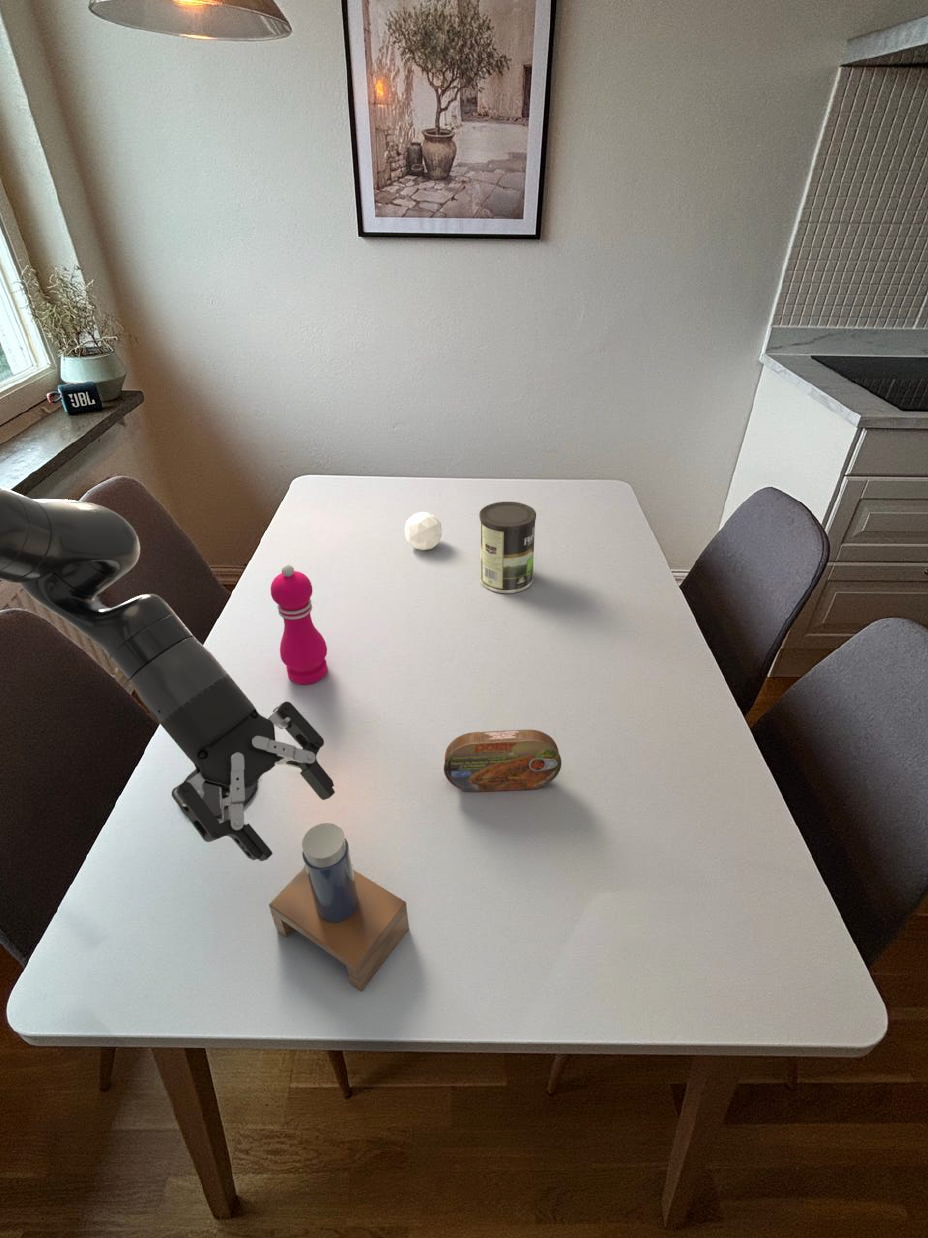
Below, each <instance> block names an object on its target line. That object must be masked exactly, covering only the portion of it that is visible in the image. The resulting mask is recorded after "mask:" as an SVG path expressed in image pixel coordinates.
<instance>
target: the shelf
mask: <svg viewBox="0 0 928 1238" xmlns="http://www.w3.org/2000/svg"><path fill="white" fill-rule="evenodd" d="M353 873H354V878H355V883H356V889H357V894H358V906H357V908H356V910H355V912H354V913H353V914H352V915H351V916H350V917H349V918H348V919H346V920H344V921H342V922H337V923H330V922H327V921H324V920H323V919H321V918H320V917H319V915H318V914H317V911H316V907H315V903H314V899H313V895H312V891H311V888H310V884H309V880H308V876H307V872H306V868H305V866H303V868H302V869H301V870H300V871H299V872H298V873H297V874H296V875H295V876H294V877H293V879H291V881H289V883H288V884H287V885H286V886H285V887H284V888H283V889H282V890H281V891H280V892H279V893H278V894H277V895H276V896H275V897H274V898H273V899H272V900H271V902H269V903H268V908H269V910H270V913H271V917H272V919H273V923H274V926H275V929H276V931H277V932H278V933H279V934H281V935H282V936H283V937H285V938H288V937H289V936H290V935H291V933H292V932H293V931H294V930H295V931H296V932H299V933H300V934H301V935H302V936H304V937H305V938H307V939H308V940H309V941H311V942H312V943H313V944H315V945H317V946H318V947H319V948H321V949H322V950H324V951H325V952H326V953H328V954H329V955H331V956H332V957H333V958H335V959H336V960H338V961H339V962H341V963H342V964H343V965H344V966H346V970H347V973H348V978H349V982H350V985H352V986H353V987H354V988H356V989H357V990H359V992H363V991H364V989H365V988H366V987H367V985H368V983H370V981H371V980H372V978H373V977H374V976H375V974H376V973H377V972H378V971H379V969H380V968H381V966H382V965H383V964H384V962H385V961H386V960H387V958H388V957H389V956H390V954H391V953H392V952H393V951H394V949H395V948H396V947H397V945H398V944H399V942H400V941H401V940H402V939H403V937H404V936H405V935H406V934H407V932H408V931H409V929H410V924H409V917H408V907H407V901H405V900H403V899H402V898H400V897H398V896H397V895H395V894H394V893H392V892H390V891H389V890H388V889H385V888H384V887H382V886H381V885H379V884H377V883H376V882H374V881H373V880H371V879H369V878H368V877H367V876H364V875H363V874H362V873H360V872H358V871H357V870H355V869H353Z"/></svg>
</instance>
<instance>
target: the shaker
mask: <svg viewBox="0 0 928 1238" xmlns="http://www.w3.org/2000/svg"><path fill="white" fill-rule="evenodd" d="M301 846H302V860H303V863H304V867H305V868H306V872H307V876H308V880H309V884H310V888H311V891H312V895H313V899H314V903H315V907H316V911H317V914H318V915H319V917H320V918H321V919H323V920H324V921H327V922H330V923H337V922H342V921H344V920H346V919H348V918H349V917H350V916H351V915H352V914H353V913H354V912H355V910H356V908H357V906H358V894H357V889H356V883H355V878H354V873H353V870H354V868H353V863H352V857H351V851H350V847H349V843H348V840H347V838H346V837H345V833H344V831H343V829H342V828H341V827H340V826H339V825H337V824H335V823H331V822H325V823H319V824H317V825H314V826H312V827H311V828H309V830H307V832H306V833H305V834H304V836H303V838H302V841H301Z"/></svg>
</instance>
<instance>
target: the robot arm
mask: <svg viewBox="0 0 928 1238" xmlns="http://www.w3.org/2000/svg"><path fill="white" fill-rule="evenodd" d="M140 556H141V541H140V539H139V536H138V533H137V532H136V530H135V529H134V527H133V526H132V524H130V523H129V521H128V520H127V519H126V518H124V517H123V516H121V515H120V514H119V513H117V512H116V511H113V510H111V509H110V508H108V507H106V506H103V505H100V504H97V503H94V502H89V501H83V500H72V499H69V500H68V499H51V498H50V499H49V498H39V499H38V498H37V499H35V498H34V499H33V498H31V497H28V496H26V495H23V494H20V493H18V492H16V491H13V490H10V489H8V488H5V487H2V486H0V581H2V582H6V583H7V582H8V583H18V584H19V585H20V586H21V588H22V589H23V591H25V593H26V594H28V596H29V597H30V598H32V599H33V600H34V601H36V602H37V603H38V604H39V605H41V606H43V607H44V608H46V609H47V610H49V611H50V612H52V613H53V614H55V615H57V616H58V617H59V618H61V619H62V620H63V621H65V622H66V623H68V624H69V625H71V626H72V627H73V628H75V629H76V630H78V631H79V632H80V633H81V634H82V635H84V636H85V637H87V638H88V639H89V640H90V641H91V642H92V643H94V644H95V645H96V646H97V647H98V648H100V650H101V651H103V652H104V654H105V655H106V656H107V657H108V659H109V660H110V661H111V662H112V663H113V664H114V666H115V667H116V668H117V670H118V671H119V672H120V673H121V674H122V675H123V676H124V678H125V679H126V680H127V681H128V682H129V684H130V685H131V686H132V688H133V689H134V691H135V693H136V694H137V696H138V698H139V700H140V701H141V702H142V704H143V705H144V707H146V709H147V710H148V712H149V714H150V715H151V717H152V718H153V719H154V720H155V721H157V722H158V723H159V725H161V727H162V728H163V730H165V732H166V733H167V734H168V735H169V737H170V738H171V739H172V740H173V741H174V743H175V744H176V745H177V746H178V747H179V749H180V750H181V751H182V753H184V754H185V756H186V757H187V758H188V759H189V760H190V762H192V763H193V765H194V767H195V770H196V771H197V775H195V776H194V777H192V778H191V779H190V780H188V781H187V782H184V781H182V782H181V783H180V784H178V785H177V786H175V787H174V788H173V789H172V791H171V797H172V799H173V800H174V801H175V803H176V804H177V805H178V807H179V808H180V809H181V811H182V812H183V813H184V815H185V816H186V817H187V819H188V820H189V822H190V823H191V825H192V826H193V827H194V828H195V830H196V831H197V832H198V834H199V836H200V837H201V838H202V840H203V841H204V842H207V843H211V842H214V841H216V840H219V839H222V838H223V837H229V838H231V839H232V840H233V842H234V843H235V844H236V845H237V846H238V847H239V849H240V850H241V851H242V852H243V854H244V855H245V856H246V858H248V859H250V860H251V861H256V860H258V861H259V862H264V861H268V859H269V858H270V857H272V855H273V851H272V850H271V848H270V847H269V846H268V845H267V843H266V842H265V841H264V840H263V839H262V838H261V836H260V835H259V834H258V833H257V831H255V829H254V828H253V826H251V824H250V823H245V811H244V807H243V804H244V801H245V789H247V788H249V787H251V786H252V785H253V784H255V783H256V782H257V781H258V782H259V779H260V778H261V777H262V776H263V775H264V774H266V773H267V772H270V771H271V770H272V769H273V768H274V767H275V766H276V765H278V766H288V767H293V768H297V769H300V770H301V771H300V772H299V774H300V775H301V777H302V778H303V779H304V780H305V782H306V783H307V784H308V785H309V786H310V788H311V789H312V790H313V792H315V794H316V795H317V796H318V797H319V799H321V800H322V801H326V800H328V799H330V798H332V796H333V795H334V794H335V793H336V792H335V789H334V788H333V787H334V786H335V783H334V781H333V779H332V778H331V777H330V775H329V774H328V773H327V772H326V771H325V769H324V768H323V767H322V765H321V764H320V763H319V762H318V760H317V756H318V753H319V751H320V749H321V748H322V747H324V744H325V740H324V738H323V736H321V735H320V734H319V732H318V731H317V730H316V729H315V728H314V727H313V725H311V724H310V722H309V721H308V720H307V719H306V718H305V717H304V715H302V714H301V712H300V711H299V710H298V709H297V708H296V707H295V706H294V705H293V703H291V701H283V702H282V703H280V704H279V705H277V706H276V707H275V708H274V709H273V710H272V713H271V714H270V715H268V716H267V717H265V716H263V715H262V714H260V713H259V712H258V710H257V709H256V707H255V705H254V704H253V703H252V701H251V700H250V699H249V698H248V696H247V695H246V694H245V693H244V692H243V690H242V689H241V688H240V687H239V685H238V684H237V683H236V682H235V680H234V679H233V678H232V676H231V675H230V674H229V673H228V671H226V670H225V669H224V667H223V665H222V664H221V663H220V662H219V660H217V658H216V657H215V656H214V655H213V653H212V652H210V650H209V649H208V648H206V647H205V646H204V645H203V644H202V643H201V642H200V641H199V640H198V639H197V638H196V637H195V636H194V635H193V633H192V631H190V629H189V628H188V627H187V626H186V625H185V623H183V621H182V620H181V618H179V616H178V615H177V614H176V613H175V611H174V610H173V609H172V607H171V606H170V605H169V604H168V602H166V600H164V599H163V598H162V597H161V596H160V595H158V594H155V593H145V594H144V593H143V594H141V595H137V596H135V597H132V598H131V599H128V600H127V601H124V602H123V603H120V604H118V605H115V606H114V607H108V606H107V605H104V604H103V603H102V602H100V601H99V600H98V599H97V596H98V595H100V594H101V593H102V592H104V591H105V590H107V588H109V587H110V586H111V585H113V584H114V583H115V582H117V581H118V580H119V579H121V578H123V576H125V575H126V574H127V573H129V572H130V571H131V570H132V569H133V568H134V567H135V566H136V564H137V563H138V561H139V559H140ZM275 727H277V728H278V729H279V730H286V732H287V733H288V734H289V735H290V736H291V737H292V738H293V740H295V742H296V743H297V744H298V745H299V746H300V747H301V748H298V747H296V746H295V745H293V744H289V743H285V742H281V741H278V740H276V730H275ZM203 783H205V784H210V785H214V786H218V787H219V788H220V807H221V809H222V818H221V822H220V821H219V820H218V819H217V818H216V817H215V816H214V814H213V813H212V812H211V810H210V809H209V808H208V806H207V805H206V803H205V802H204V801H203V799H202V798H203V797H204V790H203ZM226 794H227V795H226Z"/></svg>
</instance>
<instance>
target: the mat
mask: <svg viewBox="0 0 928 1238" xmlns="http://www.w3.org/2000/svg"><path fill="white" fill-rule="evenodd" d="M195 775H197V771H196V769H194V770H193V771H192V772H191V773H190V774H188V775H187V777H185V779H184V780H183V782H187V781H188V780H190V779H191V778H192V777H194V776H195ZM258 786H259V780H258V781H257V782H256V783H255V784H253V785H252V786H251V787H249V788H247V789H245V801H244V804H243V808H244V807H245V806H246V805H248V803H250V801H251V800H252V799H253V797H254V796H255V794H256V792H257V789H258ZM203 790H204V797H203V798H202V799H203V801H204V802H205V803H206V805H207V806H208V808H209V809H210V810H211V812H212V813H213V814H214V816H215V817H216V818H217V820H218V819H222V809H221V807H220V788H219V787H218V786H214V785H210V784H205V783H203ZM226 795H227V794H226Z"/></svg>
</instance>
